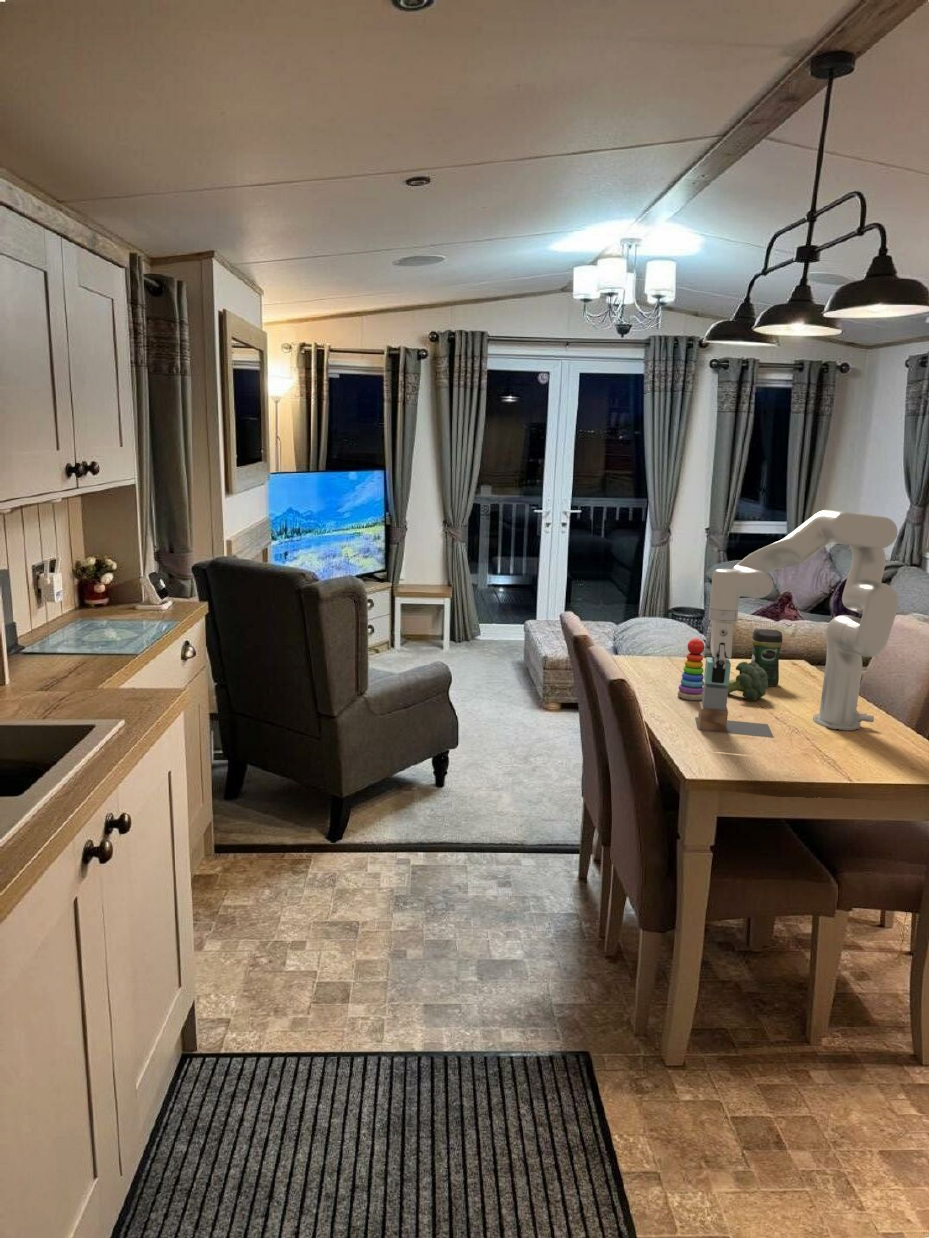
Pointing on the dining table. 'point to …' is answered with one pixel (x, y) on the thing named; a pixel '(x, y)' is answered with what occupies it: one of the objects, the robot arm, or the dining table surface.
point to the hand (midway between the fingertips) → (716, 678)
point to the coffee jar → (767, 652)
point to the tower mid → (714, 696)
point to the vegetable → (749, 681)
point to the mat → (745, 728)
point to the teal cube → (709, 670)
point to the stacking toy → (693, 672)
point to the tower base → (712, 719)
